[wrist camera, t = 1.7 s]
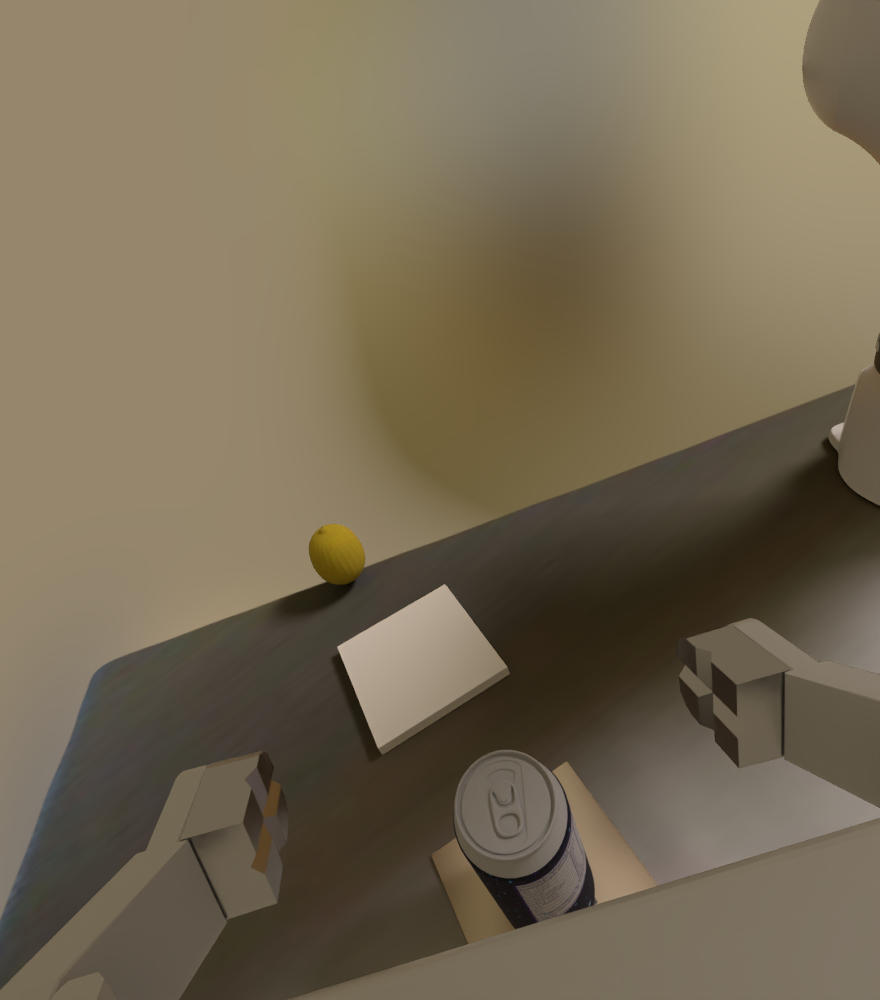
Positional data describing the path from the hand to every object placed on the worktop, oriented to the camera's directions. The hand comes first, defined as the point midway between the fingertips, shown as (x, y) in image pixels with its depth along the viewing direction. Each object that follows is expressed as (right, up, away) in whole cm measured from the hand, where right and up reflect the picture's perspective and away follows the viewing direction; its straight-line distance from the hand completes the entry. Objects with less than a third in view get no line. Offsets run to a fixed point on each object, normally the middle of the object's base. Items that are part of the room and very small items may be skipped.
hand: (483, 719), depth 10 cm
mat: (-3, -10, +38) cm, 39 cm away
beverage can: (+6, -19, +22) cm, 29 cm away
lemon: (-11, -5, +49) cm, 51 cm away
